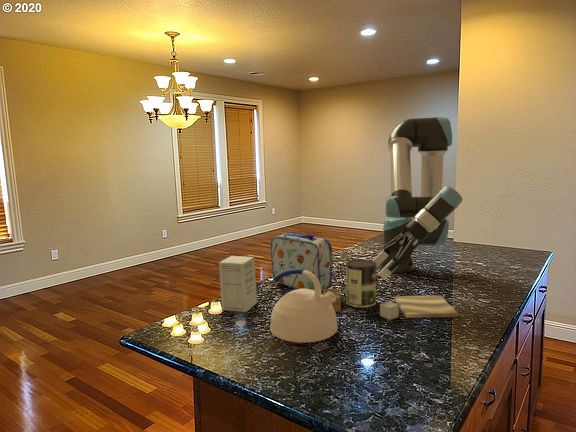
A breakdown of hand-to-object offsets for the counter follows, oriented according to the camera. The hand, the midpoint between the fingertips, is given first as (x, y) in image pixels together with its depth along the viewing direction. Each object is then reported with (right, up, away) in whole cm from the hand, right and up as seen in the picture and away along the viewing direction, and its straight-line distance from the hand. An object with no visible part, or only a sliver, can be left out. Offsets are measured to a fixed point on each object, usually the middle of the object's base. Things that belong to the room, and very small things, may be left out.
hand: (376, 271), depth 137 cm
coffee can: (-5, -12, +4) cm, 13 cm away
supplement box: (-47, -13, +3) cm, 49 cm away
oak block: (-15, -12, +5) cm, 19 cm away
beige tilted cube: (+2, -13, -9) cm, 16 cm away
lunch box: (-24, -9, +21) cm, 33 cm away
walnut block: (-16, -13, -2) cm, 20 cm away
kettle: (-25, -15, -16) cm, 33 cm away
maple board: (+15, -12, -3) cm, 19 cm away
